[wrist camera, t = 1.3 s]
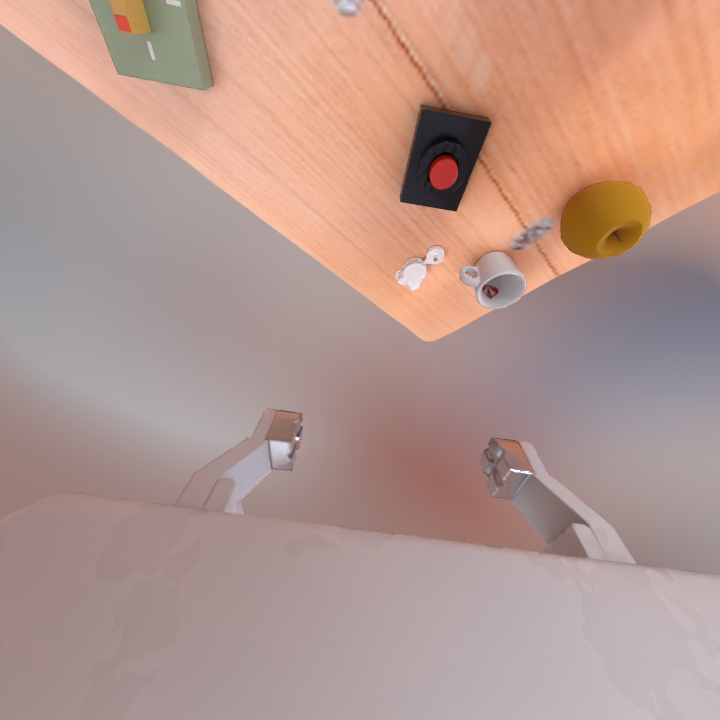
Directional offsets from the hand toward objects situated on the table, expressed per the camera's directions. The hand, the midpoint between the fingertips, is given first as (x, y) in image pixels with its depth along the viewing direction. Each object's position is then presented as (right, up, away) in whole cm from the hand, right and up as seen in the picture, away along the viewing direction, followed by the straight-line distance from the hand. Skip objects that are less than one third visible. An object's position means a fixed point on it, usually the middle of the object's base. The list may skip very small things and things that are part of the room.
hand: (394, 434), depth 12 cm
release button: (+10, +29, +26) cm, 40 cm away
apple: (+34, +28, +32) cm, 54 cm away
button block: (+10, +32, +29) cm, 44 cm away
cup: (+22, +22, +41) cm, 51 cm away
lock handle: (-24, +40, +16) cm, 50 cm away
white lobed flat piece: (+10, +21, +43) cm, 49 cm away
